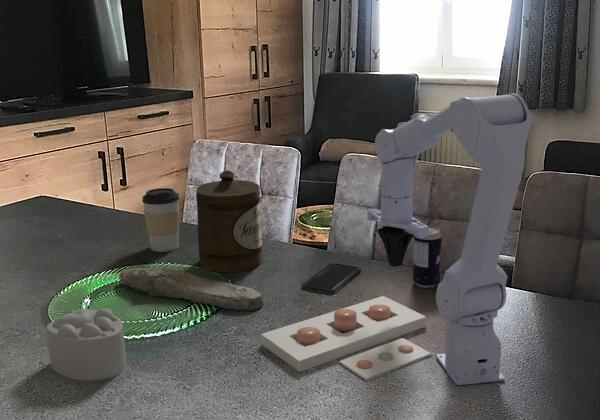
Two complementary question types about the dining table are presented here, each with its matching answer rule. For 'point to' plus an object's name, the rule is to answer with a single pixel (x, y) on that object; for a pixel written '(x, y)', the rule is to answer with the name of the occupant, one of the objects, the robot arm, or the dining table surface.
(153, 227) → the coffee cup
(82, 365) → the lumpy-topped squat cylinder
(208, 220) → the wooden container
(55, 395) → the dining table surface
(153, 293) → the long grey stone
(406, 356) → the pattern card
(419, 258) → the beverage can
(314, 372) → the dining table surface
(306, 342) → the button
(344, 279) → the phone
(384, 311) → the button
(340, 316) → the button
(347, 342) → the button board
